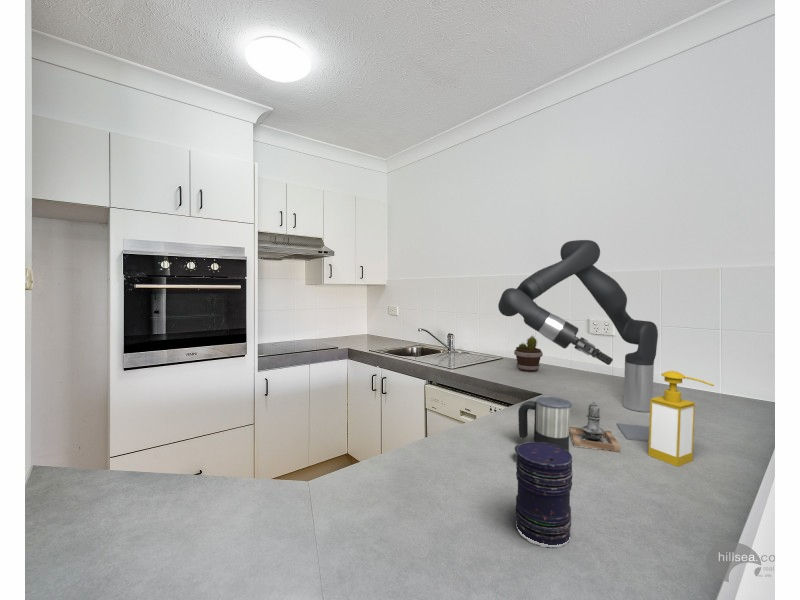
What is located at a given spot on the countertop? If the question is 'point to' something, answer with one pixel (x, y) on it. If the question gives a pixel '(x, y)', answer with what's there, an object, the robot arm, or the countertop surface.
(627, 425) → the slate mat
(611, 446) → the holder frame
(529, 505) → the navy blue cylinder
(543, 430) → the milk frother
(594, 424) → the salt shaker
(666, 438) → the soap bottle
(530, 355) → the flowerpot
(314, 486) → the countertop surface
